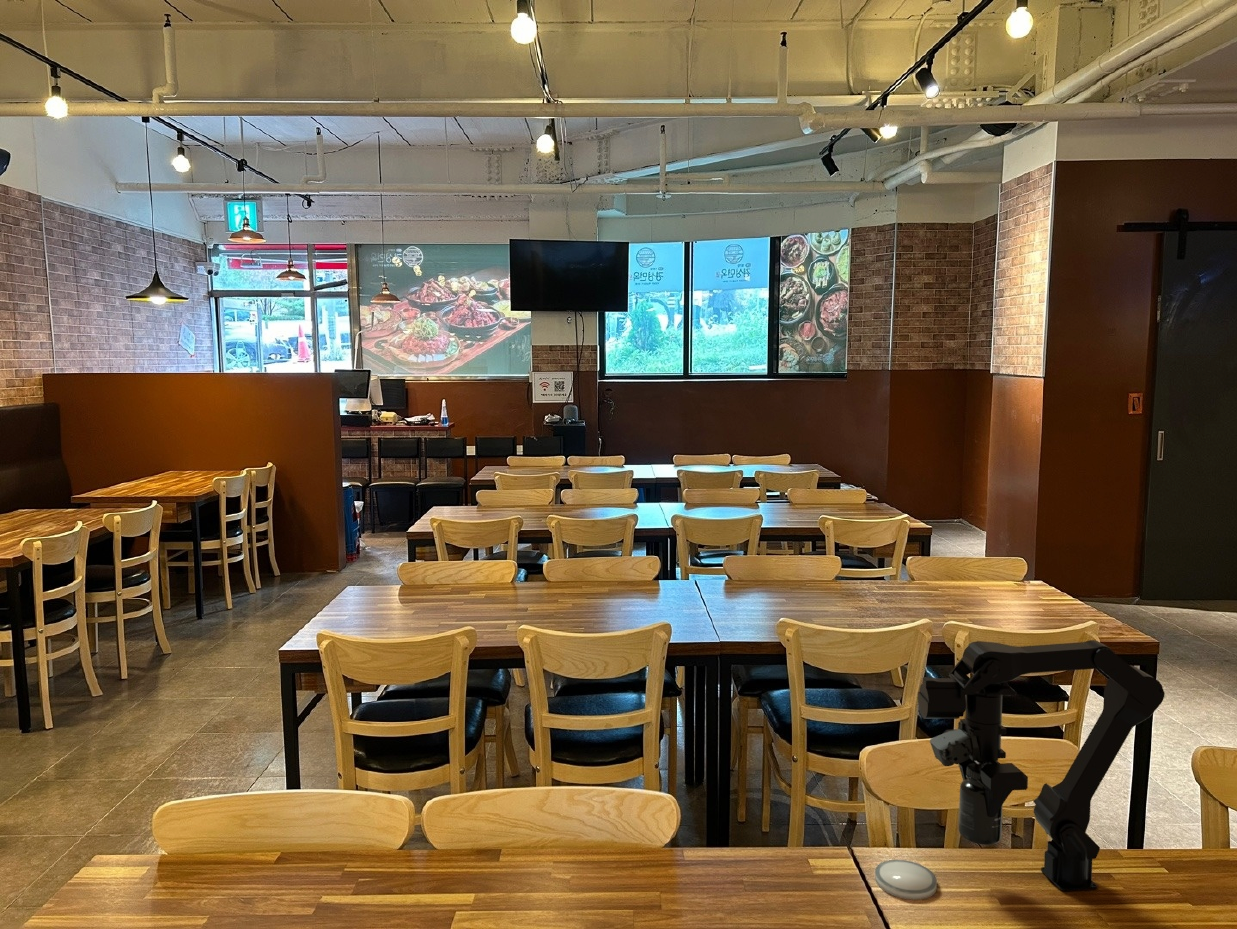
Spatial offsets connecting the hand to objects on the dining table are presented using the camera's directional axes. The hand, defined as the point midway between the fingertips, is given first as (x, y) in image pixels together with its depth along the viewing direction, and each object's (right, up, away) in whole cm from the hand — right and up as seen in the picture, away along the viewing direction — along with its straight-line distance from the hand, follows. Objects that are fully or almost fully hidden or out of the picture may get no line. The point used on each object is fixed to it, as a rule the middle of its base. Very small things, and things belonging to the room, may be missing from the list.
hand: (980, 806), depth 147 cm
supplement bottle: (0, -5, 0) cm, 5 cm away
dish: (-13, -13, 0) cm, 18 cm away
